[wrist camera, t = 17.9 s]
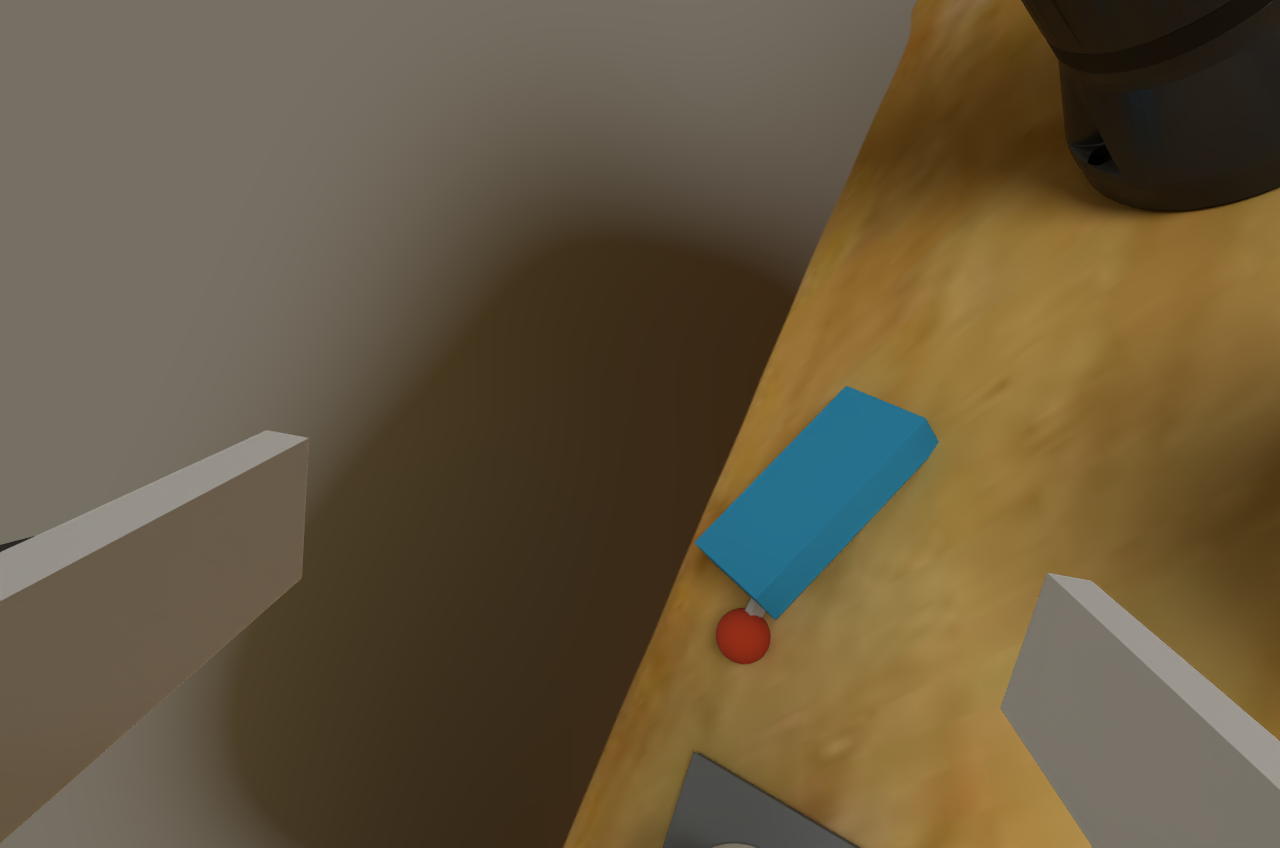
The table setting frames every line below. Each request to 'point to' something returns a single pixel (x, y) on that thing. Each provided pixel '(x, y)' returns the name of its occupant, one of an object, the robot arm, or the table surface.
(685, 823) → the mat
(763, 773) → the table surface
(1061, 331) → the table surface
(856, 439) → the lever
